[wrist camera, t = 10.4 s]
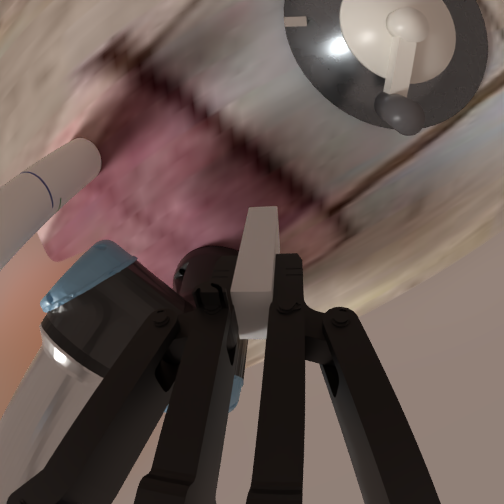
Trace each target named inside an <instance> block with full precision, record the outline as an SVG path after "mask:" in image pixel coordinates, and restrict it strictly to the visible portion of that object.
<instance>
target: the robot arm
mask: <svg viewBox="0 0 504 504" xmlns="http://www.w3.org/2000/svg"><path fill="white" fill-rule="evenodd" d="M40 305H41V307H42V309H43V311H44V312H47V315H46V316H45V318H44V319H43V321H42V322H41V324H40V331H41V336H42V341H43V342H42V346H41V348H40V350H39V351H38V353H37V355H36V356H35V358H34V360H33V361H32V363H31V365H30V366H29V368H28V370H27V372H26V373H25V375H24V377H23V379H22V381H21V382H20V384H19V386H18V388H17V390H16V391H15V393H14V395H13V397H12V399H11V401H10V403H9V405H8V407H7V409H6V411H5V413H4V415H3V417H2V419H1V421H0V504H111V503H112V502H113V500H114V499H115V497H116V496H117V494H118V492H119V490H120V488H121V487H122V485H123V483H124V481H125V480H126V478H127V476H128V474H129V473H130V471H131V469H132V467H133V465H134V464H135V462H136V460H137V459H138V457H139V455H140V453H141V451H142V450H143V448H144V446H145V444H146V443H147V441H148V439H149V437H150V436H151V434H152V432H153V430H154V429H155V427H156V425H157V423H158V421H159V420H160V418H161V416H162V414H163V412H166V415H165V419H164V422H163V426H162V430H161V434H160V437H159V441H158V445H157V449H156V453H155V457H154V461H153V465H152V468H151V471H150V472H149V474H147V475H146V476H144V477H143V478H142V480H141V481H140V483H139V486H138V489H137V493H136V497H135V501H134V504H216V500H215V496H216V488H217V482H218V475H219V469H220V463H221V457H222V450H223V444H224V438H225V431H226V425H227V419H228V413H229V412H231V411H232V410H233V409H234V408H235V407H236V405H237V403H238V401H239V396H240V392H241V387H242V386H243V379H244V370H245V362H246V353H247V345H248V339H266V349H265V359H264V371H263V380H262V391H261V400H260V410H259V419H258V429H257V438H256V448H255V456H254V465H253V474H252V482H251V487H250V490H249V492H248V496H247V501H246V504H302V488H303V463H304V430H305V429H304V428H305V360H308V361H312V362H315V363H319V364H320V368H321V370H322V374H323V376H324V380H325V382H326V385H327V388H328V391H329V394H330V397H331V400H332V403H333V406H334V409H335V412H336V415H337V418H338V421H339V424H340V427H341V430H342V433H343V437H344V440H345V443H346V446H347V449H348V452H349V455H350V458H351V461H352V465H353V468H354V471H355V474H356V477H357V481H358V484H359V487H360V490H361V493H362V496H363V500H364V503H365V504H441V503H440V501H439V498H438V496H437V493H436V490H435V487H434V485H433V482H432V480H431V477H430V474H429V472H428V469H427V467H426V464H425V462H424V459H423V457H422V454H421V452H420V450H419V447H418V445H417V442H416V440H415V438H414V435H413V433H412V431H411V428H410V426H409V424H408V421H407V419H406V417H405V415H404V412H403V410H402V408H401V406H400V403H399V401H398V399H397V397H396V395H395V392H394V390H393V388H392V386H391V384H390V382H389V379H388V377H387V375H386V373H385V371H384V369H383V367H382V365H381V363H380V360H379V358H378V356H377V354H376V352H375V350H374V348H373V346H372V344H371V342H370V340H369V338H368V336H367V334H366V332H365V330H364V328H363V326H362V324H361V322H360V320H359V318H358V316H357V315H356V314H355V312H354V311H352V310H350V309H348V308H344V307H335V308H332V309H329V310H328V311H327V312H326V313H322V312H318V311H315V310H313V309H311V308H309V307H308V306H307V305H306V303H305V302H304V295H303V269H302V259H301V258H300V257H299V255H298V254H297V253H295V254H280V239H279V225H278V210H277V206H267V207H249V209H248V214H247V218H246V223H245V227H244V232H243V236H242V240H241V245H240V249H239V252H238V251H236V250H233V249H230V248H226V247H219V246H209V247H203V248H199V249H196V250H194V251H192V252H190V253H188V254H187V255H186V256H185V257H184V258H183V259H182V260H181V261H180V263H179V265H178V267H177V269H176V272H175V274H174V278H173V289H171V288H170V287H169V286H168V285H166V284H165V283H164V282H163V281H161V280H160V279H159V278H158V277H156V276H155V275H154V274H153V273H151V272H150V271H149V270H148V269H147V268H145V267H144V266H143V265H142V264H141V263H139V262H138V261H137V257H135V256H132V255H130V254H129V253H128V252H126V251H125V250H124V249H122V248H121V247H120V246H118V245H117V244H116V243H114V242H113V241H110V240H101V241H98V242H97V243H95V244H94V245H93V246H92V247H91V248H90V249H89V250H88V251H87V252H85V253H84V254H83V255H82V256H81V257H80V258H79V259H78V260H77V261H76V262H75V263H74V264H73V266H72V267H71V268H70V269H69V270H68V271H67V272H66V273H65V274H64V275H63V276H62V277H61V278H60V279H59V280H58V281H57V283H56V284H55V285H54V286H53V287H52V288H51V290H50V291H49V292H48V293H47V294H46V296H44V298H43V299H42V300H41V302H40Z"/></svg>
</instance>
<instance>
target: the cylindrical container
mask: <svg viewBox="0 0 504 504" xmlns="http://www.w3.org/2000/svg"><path fill="white" fill-rule="evenodd" d="M100 169H101V156H100V153H99V151H98V149H97V147H96V146H95V145H94V144H93V143H92V142H91V141H89V140H87V139H85V138H76V139H73V140H72V141H70V142H68V143H66V144H65V145H63V146H61V147H60V148H58V149H57V150H55V151H53V152H52V153H50V154H48V155H47V156H45V157H44V158H42V159H41V160H39V161H38V162H36V163H35V164H33V165H32V166H30V167H29V168H27V169H26V170H24V171H23V172H21V173H20V174H19V175H17V176H16V177H14V178H13V179H12V180H10V181H9V182H7V183H6V184H5V185H3V186H2V187H1V188H0V271H1V270H2V268H3V267H4V266H5V265H6V264H7V263H8V262H9V261H10V259H11V258H12V257H13V256H14V255H15V254H16V253H17V252H18V251H19V249H21V247H22V246H23V245H24V244H25V243H26V242H27V241H28V240H29V239H30V238H31V237H32V236H33V235H34V234H35V233H36V232H37V231H38V230H39V229H40V228H41V227H42V226H43V225H44V224H45V223H46V222H47V221H48V220H49V219H50V218H51V217H52V216H53V215H54V214H55V213H56V212H57V211H58V210H59V209H60V208H62V207H63V206H64V205H65V204H66V203H67V202H68V201H69V200H70V199H71V198H72V197H74V196H75V195H76V194H77V193H78V192H79V191H80V190H81V189H83V188H84V187H85V186H86V185H87V184H88V183H90V182H91V181H92V180H93V179H94V178H95V177H96V176H97V175H98V174H99V172H100Z"/></svg>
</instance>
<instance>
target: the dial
mask: <svg viewBox="0 0 504 504" xmlns="http://www.w3.org/2000/svg"><path fill="white" fill-rule="evenodd" d="M339 23H340V28H341V33H342V35H343V38H344V41H345V43H346V45H347V47H348V48H349V50H350V51H351V53H352V54H353V55H354V56H355V58H356V59H357V60H358V61H359V62H360V63H361V64H362V65H363V66H364V67H366V68H367V69H368V70H370V71H371V72H373V73H374V74H376V75H378V76H380V77H382V78H385V84H384V90H383V92H381V93H379V94H378V95H377V97H376V98H375V101H374V109H375V112H376V113H377V115H378V116H379V117H380V118H381V119H383V120H384V121H385V122H387V123H388V124H389V125H390V126H392V127H393V128H394V129H395V130H397V131H398V132H399V133H401V134H403V135H407V136H410V135H414V134H416V133H418V132H419V131H420V130H421V129H422V128H423V126H424V123H425V114H424V111H423V109H422V107H421V106H420V105H419V104H418V103H417V102H415V101H413V100H411V99H408V98H407V94H408V89H409V84H416V83H422V82H425V81H428V80H431V79H433V78H435V77H436V76H437V75H439V74H440V73H441V72H442V71H443V70H444V69H445V68H446V67H447V66H448V64H449V62H450V61H451V59H452V56H453V54H454V50H455V44H456V32H455V27H454V23H453V19H452V17H451V14H450V12H449V10H448V8H447V7H446V5H445V3H444V2H443V1H442V0H342V2H341V5H340V10H339Z"/></svg>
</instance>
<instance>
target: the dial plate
mask: <svg viewBox="0 0 504 504" xmlns="http://www.w3.org/2000/svg"><path fill="white" fill-rule="evenodd" d="M442 1H443V2H444V3H445V5H446V7H447V8H448V10H449V12H450V14H451V17H452V19H453V23H454V27H455V32H456V44H455V50H454V54H453V56H452V59H451V61H450V62H449V64H448V66H447V67H446V68H445V69H444V70H443V71H442V72H441V73H440V74H439V75H437V76H436V77H435V78H433V79H431V80H428V81H425V82H422V83H416V84H409V89H408V94H407V98H408V99H411V100H413V101H415V102H417V103H418V104H419V105H420V106H421V107H422V109H423V111H424V114H425V123H424V126H423V128H425V127H429V126H433V125H436V124H438V123H441V122H443V121H445V120H447V119H449V118H450V117H452V116H454V115H455V114H456V113H458V112H459V111H460V110H461V109H462V108H464V107H465V106H466V104H467V103H468V102H469V101H470V100H471V99H472V97H473V96H474V94H475V93H476V91H477V90H478V87H479V85H480V83H481V81H482V79H483V75H484V72H485V69H486V63H487V56H488V42H487V33H486V28H485V23H484V20H483V17H482V14H481V11H480V8H479V6H478V4H477V2H476V0H442ZM341 2H342V0H285V4H284V24H285V29H286V35H287V39H288V42H289V45H290V48H291V51H292V53H293V55H294V57H295V59H296V61H297V63H298V65H299V66H300V68H301V70H302V71H303V73H304V74H305V75H306V77H307V78H308V79H309V80H310V82H311V83H312V84H313V85H314V87H315V88H316V89H317V90H318V91H319V92H320V93H321V94H322V95H323V96H324V97H325V98H327V99H328V100H329V101H330V102H332V103H333V104H334V105H335V106H337V107H338V108H340V109H341V110H343V111H344V112H346V113H348V114H349V115H351V116H353V117H355V118H357V119H359V120H362V121H364V122H367V123H370V124H372V125H376V126H380V127H384V128H390V129H394V128H393V127H392V126H390V125H389V124H388V123H387V122H385V121H384V120H383V119H381V118H380V117H379V116H378V115H377V113H376V112H375V109H374V101H375V98H376V97H377V95H378V94H379V93H381V92H383V90H384V84H385V78H382V77H380V76H378V75H376V74H374V73H373V72H371V71H370V70H368V69H367V68H366V67H364V66H363V65H362V64H361V63H360V62H359V61H358V60H357V59H356V58H355V56H354V55H353V54H352V53H351V51H350V50H349V48H348V47H347V45H346V43H345V41H344V38H343V35H342V33H341V28H340V23H339V10H340V5H341Z"/></svg>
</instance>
